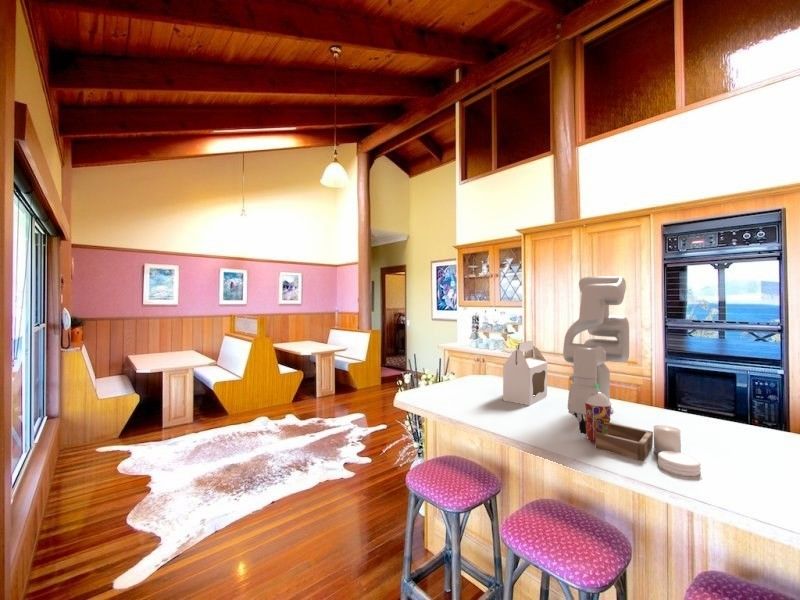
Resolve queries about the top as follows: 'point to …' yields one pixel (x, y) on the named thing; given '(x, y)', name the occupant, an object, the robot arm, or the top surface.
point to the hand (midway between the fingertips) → (584, 432)
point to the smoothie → (597, 415)
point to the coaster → (679, 463)
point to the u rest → (626, 441)
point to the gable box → (525, 375)
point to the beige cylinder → (666, 439)
